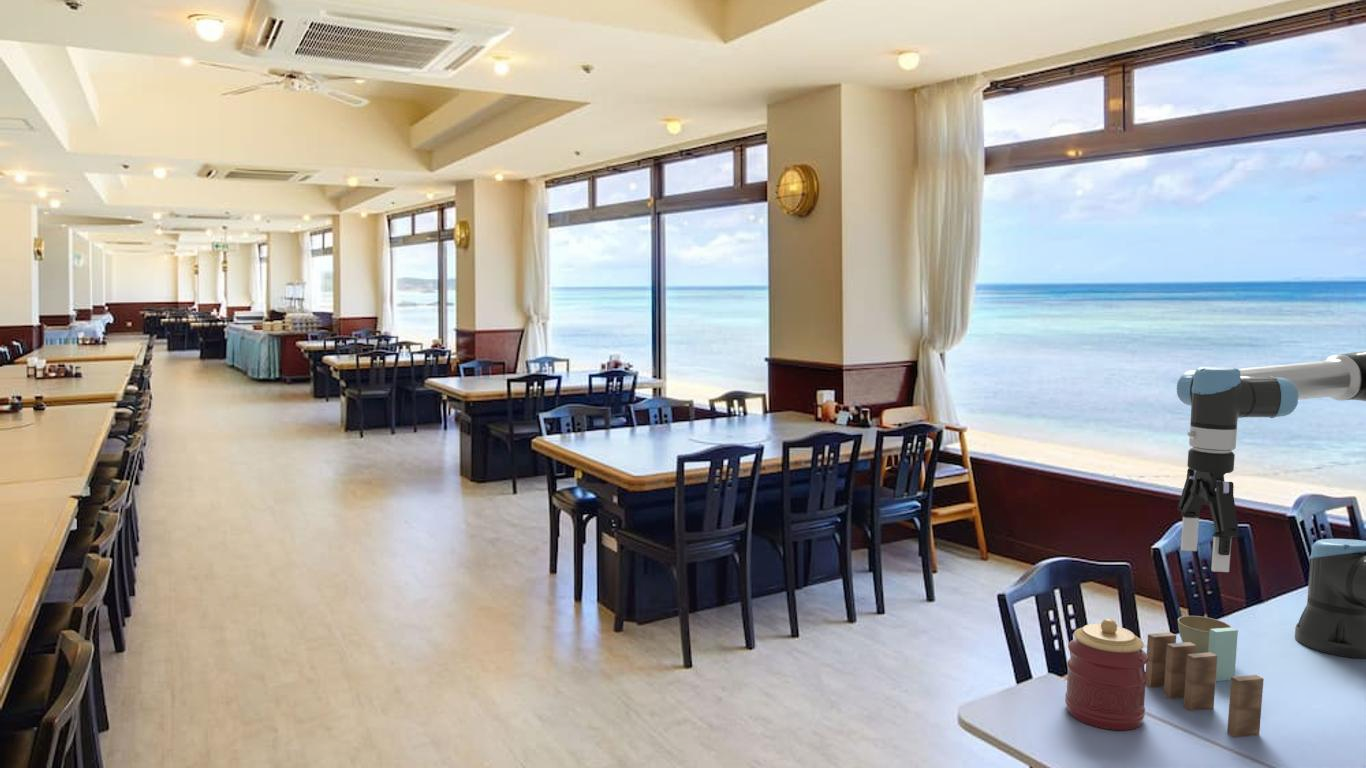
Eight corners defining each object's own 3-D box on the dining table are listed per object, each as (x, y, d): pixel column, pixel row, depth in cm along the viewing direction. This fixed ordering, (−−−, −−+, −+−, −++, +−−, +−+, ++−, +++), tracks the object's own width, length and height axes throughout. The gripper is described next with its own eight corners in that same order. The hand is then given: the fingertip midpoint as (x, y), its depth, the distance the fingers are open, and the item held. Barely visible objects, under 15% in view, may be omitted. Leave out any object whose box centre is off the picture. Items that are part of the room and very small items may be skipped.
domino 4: (1227, 676, 180) (1231, 627, 179) (1234, 679, 178) (1237, 630, 177) (1206, 678, 178) (1209, 629, 177) (1212, 681, 177) (1216, 632, 176)
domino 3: (1206, 704, 167) (1210, 652, 166) (1213, 708, 165) (1217, 655, 164) (1183, 707, 166) (1187, 654, 165) (1190, 710, 164) (1193, 657, 163)
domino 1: (1166, 681, 177) (1170, 632, 176) (1173, 685, 175) (1176, 635, 174) (1144, 683, 175) (1147, 634, 174) (1150, 687, 174) (1153, 637, 173)
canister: (1142, 739, 154) (1148, 638, 152) (1060, 720, 160) (1065, 624, 158) (1145, 708, 165) (1151, 614, 163) (1069, 692, 171) (1074, 602, 169)
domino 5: (1251, 730, 157) (1255, 674, 156) (1259, 734, 156) (1263, 678, 155) (1227, 732, 156) (1231, 677, 155) (1234, 737, 154) (1238, 681, 153)
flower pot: (1238, 668, 183) (1241, 634, 182) (1184, 664, 185) (1187, 630, 184) (1219, 649, 193) (1222, 617, 192) (1168, 645, 195) (1171, 613, 194)
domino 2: (1186, 692, 172) (1189, 641, 171) (1192, 696, 170) (1196, 645, 169) (1163, 695, 171) (1166, 643, 170) (1169, 698, 169) (1173, 647, 168)
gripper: (1164, 438, 182) (1157, 541, 184) (1220, 461, 157) (1211, 579, 159) (1203, 439, 181) (1196, 543, 183) (1266, 462, 156) (1257, 582, 159)
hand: (1203, 560), depth 171 cm, fingers open, 13 cm apart
